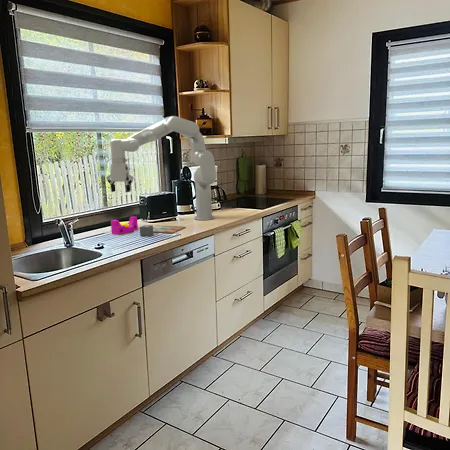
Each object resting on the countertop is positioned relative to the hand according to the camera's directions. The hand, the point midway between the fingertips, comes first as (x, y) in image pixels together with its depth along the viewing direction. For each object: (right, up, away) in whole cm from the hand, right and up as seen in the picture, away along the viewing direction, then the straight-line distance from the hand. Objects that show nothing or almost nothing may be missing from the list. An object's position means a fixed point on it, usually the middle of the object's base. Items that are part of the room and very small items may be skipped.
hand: (120, 191), depth 239 cm
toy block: (+4, -23, -5) cm, 24 cm away
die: (+18, -24, -16) cm, 34 cm away
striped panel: (+25, -22, -4) cm, 33 cm away
